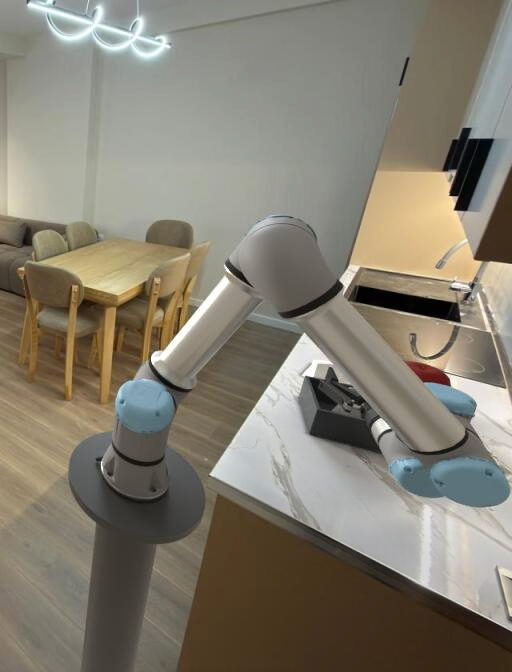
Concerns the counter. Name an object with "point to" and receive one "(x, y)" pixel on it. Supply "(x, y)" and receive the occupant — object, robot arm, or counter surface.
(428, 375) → the apple
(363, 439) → the storage bin
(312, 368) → the napkin holder
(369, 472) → the counter surface
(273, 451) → the counter surface
